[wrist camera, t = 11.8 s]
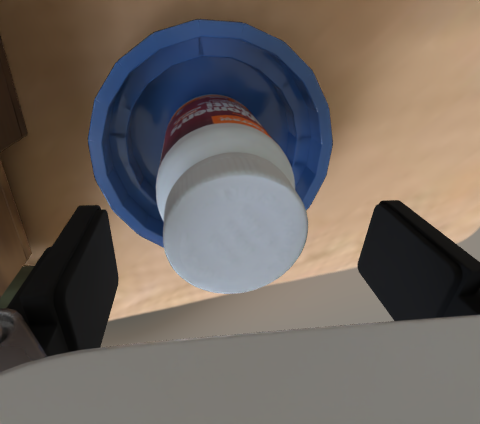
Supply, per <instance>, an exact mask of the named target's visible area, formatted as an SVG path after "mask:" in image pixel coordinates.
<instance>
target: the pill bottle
mask: <svg viewBox="0 0 480 424" xmlns="http://www.w3.org/2000/svg"><path fill="white" fill-rule="evenodd" d="M156 200H157V206H158V210H159V213H160V215H161V218H162V220H163V221H164V226H163V245H164V250H165V253H166V256H167V258H168V260H169V263H170V264H171V266H172V268H173V269H174V270H175V271H176V273H177V274H178V275H179V276H180V277H182V278H183V279H184V280H185V281H187V282H188V283H190V284H192V285H193V286H195V287H198V288H200V289H203V290H206V291H209V292H214V293H223V294H233V293H243V292H247V291H252V290H255V289H258V288H261V287H263V286H265V285H267V284H269V283H271V282H273V281H274V280H276V279H278V278H279V277H280V276H282V275H283V274H284V273H285V272H286V271H287V270H289V269H290V267H291V266H292V265H293V264H294V263H295V261H296V260H297V259H298V257H299V256H300V254H301V252H302V250H303V248H304V245H305V243H306V238H307V233H308V218H307V213H306V210H305V207H304V204H303V202H302V200H301V198H300V197H299V195H298V194H297V192H296V191H295V180H294V174H293V171H292V168H291V165H290V163H289V160H288V158H287V157H286V155H285V154H284V152H283V150H282V149H281V147H280V146H279V145H278V144H277V143H276V142H275V141H274V140H273V139H272V137H271V136H270V135H269V134H268V132H267V131H266V130H265V129H264V127H263V126H262V125H261V124H260V123H259V122H258V120H257V119H256V118H255V117H254V116H253V114H252V113H251V112H250V111H249V110H248V109H247V108H246V107H245V106H244V105H242V104H241V103H240V102H238V101H236V100H235V99H232V98H230V97H227V96H223V95H216V94H209V95H203V96H199V97H196V98H194V99H191V100H189V101H188V102H186V103H185V104H183V105H182V106H181V107H180V108H179V109H178V110H177V111H176V112H175V114H174V115H173V117H172V118H171V120H170V122H169V125H168V127H167V130H166V134H165V139H164V144H163V149H162V155H161V160H160V165H159V169H158V175H157V179H156Z"/></svg>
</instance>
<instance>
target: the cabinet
mask: <svg viewBox="0 0 480 424" xmlns="http://www.w3.org/2000/svg"><path fill="white" fill-rule="evenodd" d="M26 135H27V130H26V126H25V123H24V119H23V116H22V112H21V108H20V105H19V101H18V98H17V94H16V91H15V87H14V83H13V80H12V76H11V73H10V69H9V66H8V62H7V58H6V55H5V51H4V48H3V44H2V41H1V37H0V152H1V151H3V150H4V149H6V148H7V147H9V146H11V145H12V144H14V143H15V142H17V141H19V140H20V139H22V138H23V137H24V136H26Z"/></svg>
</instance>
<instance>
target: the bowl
mask: <svg viewBox="0 0 480 424" xmlns="http://www.w3.org/2000/svg"><path fill="white" fill-rule="evenodd" d="M209 94H216V95H223V96H227V97H230V98H232V99H235V100H236V101H238V102H240V103H241V104H242V105H244V106H245V107H246V108H247V109H248V110H249V111H250V112H251V113H252V114H253V116H254V117H255V118H256V119H257V120H258V122H259V123H260V124H261V125H262V126H263V127H264V129H265V130H266V131H267V132H268V134H269V135H270V136H271V137H272V139H273V140H274V141H275V142H276V143H277V144H278V145H279V146H280V147H281V149H282V150H283V152H284V154H285V155H286V157H287V158H288V160H289V163H290V165H291V168H292V171H293V174H294V180H295V191H296V192H297V194H298V195H299V197H300V198H301V200H302V202H303V204H304V207H305V210H307V209H308V208H309V207H310V205H311V204H312V202H313V200H314V198H315V196H316V194H317V192H318V191H319V189H320V187H321V185H322V183H323V181H324V179H325V177H326V175H327V170H328V165H329V160H330V155H331V151H332V146H333V140H332V130H331V120H330V111H329V106H328V103H327V101H326V99H325V97H324V94H323V92H322V90H321V88H320V86H319V83H318V81H317V79H316V77H315V75H314V73H313V71H312V70H311V68H310V67H309V66H308V65H307V64H306V63H305V62H304V61H303V60H302V59H301V58H300V57H299V56H298V55H297V54H296V53H295V52H294V51H293V50H292V49H291V48H290V47H289V46H288V45H287V44H286V43H285V42H283V41H282V40H280V39H278V38H276V37H274V36H272V35H269V34H267V33H265V32H263V31H261V30H259V29H257V28H255V27H253V26H250V25H248V24H246V23H242V22H232V21H219V20H205V19H196V20H192V21H189V22H186V23H182V24H179V25H176V26H173V27H169V28H166V29H163V30H159V31H156V32H153V34H150V35H149V36H148V37H147V38H145V39H144V40H143V41H141V42H140V43H139V44H138V45H136V46H135V47H134V48H133V49H131V50H130V51H129V52H128V53H126V54H125V55H124V56H123V57H121V58H120V59H119V60H118V61H117V62H116V63H115V65H114V66H113V68H112V70H111V71H110V73H109V75H108V77H107V78H106V80H105V82H104V83H103V85H102V87H101V89H100V90H99V92H98V94H97V95H96V97H95V100H94V104H93V110H92V116H91V122H90V128H89V134H88V145H89V151H90V156H91V162H92V167H93V172H94V177H95V180H96V182H97V184H98V186H99V187H100V189H101V191H102V193H103V194H104V196H105V198H106V200H107V202H108V203H109V205H110V207H111V209H112V210H113V211H114V212H115V213H116V214H117V215H118V216H119V217H120V218H121V219H122V220H123V221H124V222H125V223H126V224H127V225H128V226H129V227H130V228H132V229H133V230H134V231H135V232H136V233H137V234H139V235H140V236H142V237H144V238H146V239H148V240H149V241H151V242H153V243H155V244H157V245H159V246H161V247H163V248H164V245H163V226H164V221H163V220H162V218H161V215H160V213H159V210H158V206H157V200H156V179H157V175H158V169H159V165H160V160H161V155H162V149H163V144H164V139H165V134H166V130H167V127H168V125H169V122H170V120H171V118H172V117H173V115H174V114H175V112H176V111H177V110H178V109H179V108H180V107H181V106H182V105H183V104H185V103H186V102H188V101H189V100H191V99H194V98H196V97H199V96H203V95H209Z"/></svg>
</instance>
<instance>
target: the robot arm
mask: <svg viewBox="0 0 480 424" xmlns="http://www.w3.org/2000/svg"><path fill="white" fill-rule="evenodd" d="M358 270H359V272H360V274H361V275H362V277H363V278H364V279H365V281H366V282H367V284H368V285H369V286H370V288H371V289H372V291H373V292H374V293H375V295H376V296H377V297H378V299H379V300H380V301H381V303H382V304H383V306H384V307H385V308H386V310H387V311H388V312H389V314H390V315H391V317H392V318H393V319H394V321H391V322H378V323H364V324H352V325H340V326H328V327H315V328H304V329H291V330H279V331H268V332H257V333H245V334H234V335H222V336H212V337H200V338H188V339H177V340H166V341H155V342H144V343H133V344H126V345H117V346H109V347H102V348H100V346H101V343H102V339H103V336H104V332H105V329H106V325H107V322H108V318H109V315H110V311H111V308H112V304H113V301H114V297H115V294H116V290H117V287H118V271H117V265H116V259H115V253H114V248H113V242H112V236H111V230H110V225H109V219H108V213H107V211H106V210H101V208H100V206H99V205H90V206H79V207H78V208H77V209H76V211H75V212H74V214H73V215H72V217H71V218H70V220H69V222H68V223H67V225H66V226H65V228H64V229H63V231H62V232H61V234H60V235H59V237H58V238H57V240H56V241H55V243H54V244H53V246H52V247H49V248H47V249H46V250H45V251H44V253H43V254H42V256H41V257H40V259H39V260H38V262H37V263H36V265H35V266H34V268H33V269H32V271H31V272H30V274H29V275H28V277H27V278H26V280H25V281H24V282H23V284H22V285H21V287H20V288H19V290H18V291H17V293H16V294H15V296H14V297H13V299H12V300H11V302H10V303H9V305H8V306H7V308H0V424H480V262H479V261H477V260H476V259H475V258H473V257H472V256H471V255H469V254H468V253H467V252H466V251H464V250H463V249H462V248H460V247H459V246H458V245H457V244H455V243H454V242H453V241H451V240H450V239H449V238H447V237H446V236H445V235H444V234H442V233H441V232H440V231H438V230H437V229H436V228H434V227H433V226H432V225H431V224H429V223H428V222H427V221H425V220H424V219H423V218H421V217H420V216H419V215H418V214H416V213H415V212H414V211H412V210H411V209H410V208H408V207H407V206H406V205H405V204H403V203H402V202H401V201H399V200H391V201H381V202H380V203H379V205H376V207H375V208H374V212H373V215H372V218H371V221H370V225H369V228H368V231H367V235H366V238H365V241H364V244H363V248H362V251H361V254H360V258H359V261H358Z"/></svg>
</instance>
